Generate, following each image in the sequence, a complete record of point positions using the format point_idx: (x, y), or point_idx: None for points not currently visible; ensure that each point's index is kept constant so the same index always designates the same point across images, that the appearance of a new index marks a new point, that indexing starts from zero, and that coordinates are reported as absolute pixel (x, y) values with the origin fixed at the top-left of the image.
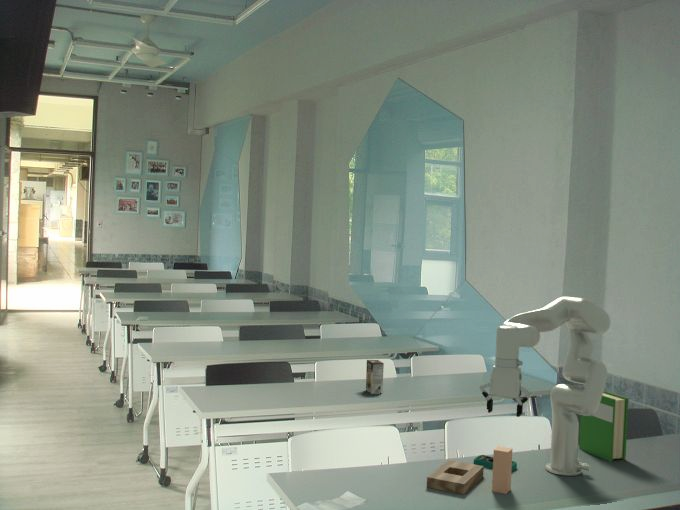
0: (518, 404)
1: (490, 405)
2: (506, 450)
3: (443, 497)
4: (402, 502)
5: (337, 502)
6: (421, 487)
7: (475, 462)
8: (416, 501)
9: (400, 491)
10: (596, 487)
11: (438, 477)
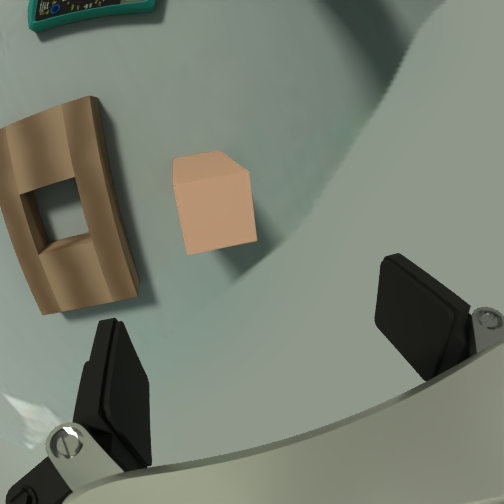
0: (443, 371)
1: (149, 431)
2: (238, 222)
3: None
4: None
5: (41, 431)
6: None
7: (37, 29)
8: None
9: (42, 352)
10: (392, 9)
11: (59, 299)
